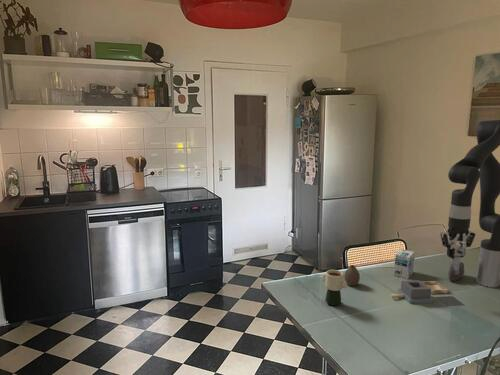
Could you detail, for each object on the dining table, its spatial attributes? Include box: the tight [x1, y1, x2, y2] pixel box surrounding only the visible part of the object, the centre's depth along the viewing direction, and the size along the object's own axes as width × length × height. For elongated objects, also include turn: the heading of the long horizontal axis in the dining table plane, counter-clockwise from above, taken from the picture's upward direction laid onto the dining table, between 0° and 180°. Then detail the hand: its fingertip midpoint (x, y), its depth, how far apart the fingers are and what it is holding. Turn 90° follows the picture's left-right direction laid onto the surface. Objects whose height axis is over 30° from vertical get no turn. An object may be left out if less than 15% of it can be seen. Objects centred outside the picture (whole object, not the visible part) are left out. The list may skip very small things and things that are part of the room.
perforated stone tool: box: [447, 261, 465, 282], centre depth 176 cm, size 15×5×7 cm, turn 134°
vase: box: [344, 264, 361, 287], centre depth 168 cm, size 7×7×9 cm
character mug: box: [322, 269, 348, 306], centre depth 150 cm, size 11×7×13 cm, turn 45°
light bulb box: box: [393, 248, 416, 280], centre depth 181 cm, size 11×7×11 cm, turn 143°
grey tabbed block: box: [448, 244, 466, 274], centre depth 150 cm, size 4×7×11 cm, turn 6°
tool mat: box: [435, 295, 465, 307], centre depth 154 cm, size 8×8×1 cm
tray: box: [422, 280, 450, 294], centre depth 165 cm, size 9×9×2 cm
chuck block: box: [391, 279, 434, 304], centre depth 156 cm, size 15×10×6 cm, turn 95°
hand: (455, 256), depth 150 cm, fingers closed on grey tabbed block, 4 cm apart
